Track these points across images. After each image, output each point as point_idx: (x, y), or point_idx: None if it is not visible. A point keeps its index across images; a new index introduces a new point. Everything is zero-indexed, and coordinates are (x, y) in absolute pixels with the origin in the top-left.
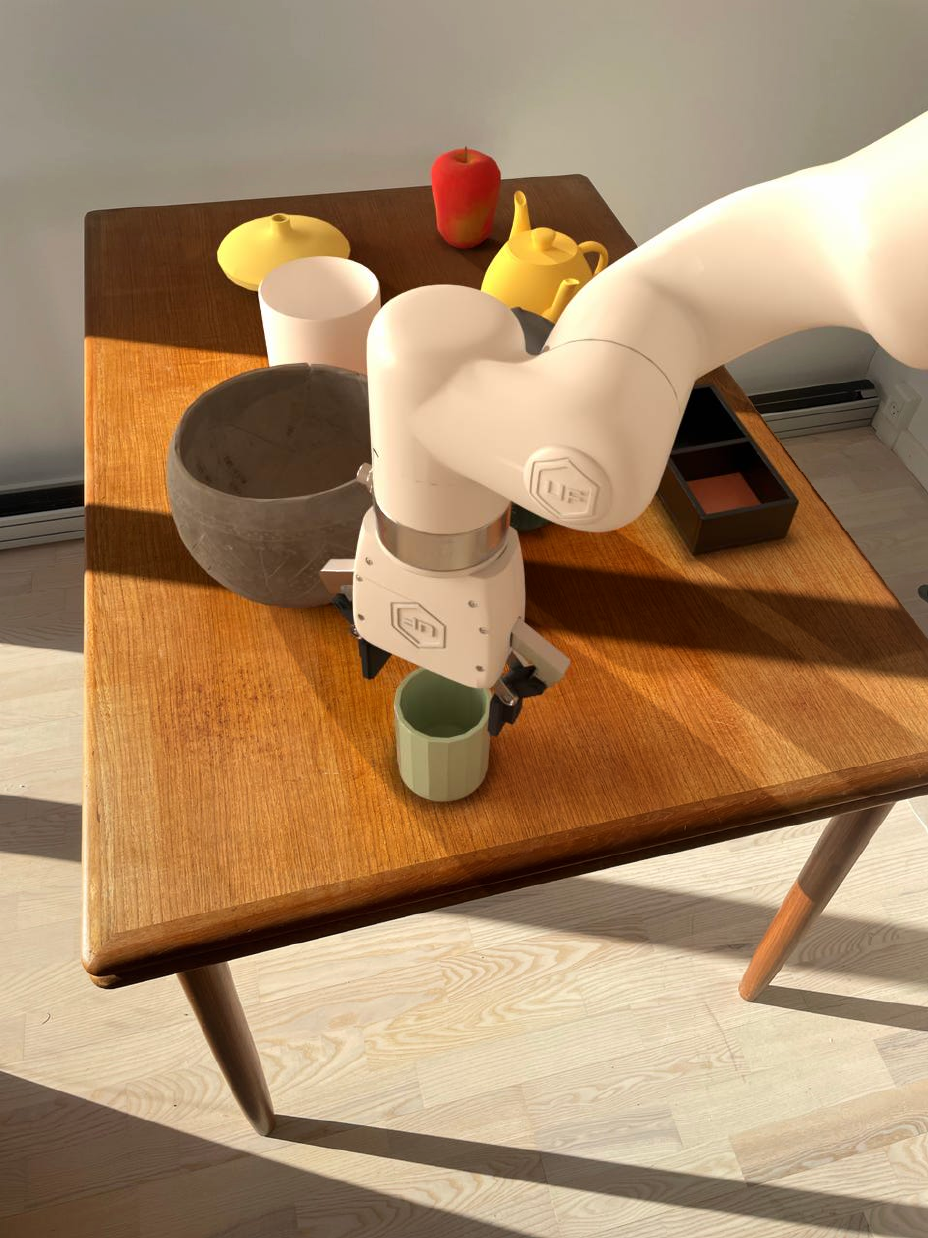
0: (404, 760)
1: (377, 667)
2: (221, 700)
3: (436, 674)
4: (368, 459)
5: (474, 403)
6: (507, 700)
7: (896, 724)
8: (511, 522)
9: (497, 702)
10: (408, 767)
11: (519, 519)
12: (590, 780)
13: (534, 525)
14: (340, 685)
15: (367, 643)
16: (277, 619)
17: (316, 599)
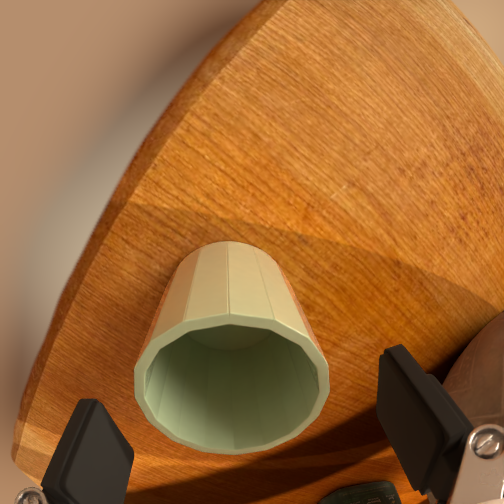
0: (249, 264)
1: (387, 382)
2: (484, 192)
3: (289, 415)
4: None
5: None
6: (33, 498)
7: (33, 476)
8: (344, 495)
9: (47, 489)
10: (238, 259)
11: (339, 502)
12: (94, 373)
13: (326, 501)
14: (402, 295)
15: (449, 441)
16: (484, 304)
17: (485, 358)
